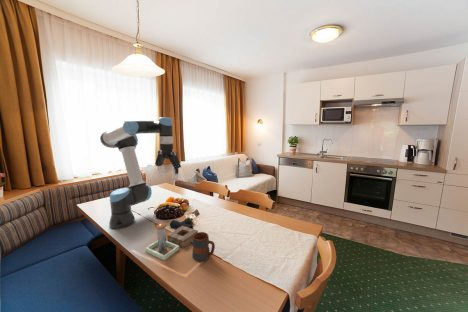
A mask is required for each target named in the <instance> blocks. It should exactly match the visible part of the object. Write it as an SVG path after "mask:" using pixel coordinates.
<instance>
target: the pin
mask: <svg viewBox="0 0 468 312" xmlns="http://www.w3.org/2000/svg"><path fill="white" fill-rule="evenodd" d="M166 226H167V222H164V221H161V222H158V223H156V224H155V228H156V232H157V233H156V234H157V241H158V245H157V248H158V251H157V252H158V253H160V254H163V253H165V252H166V251H167V245H166V241H167V235H166V233H167V232H166Z"/></svg>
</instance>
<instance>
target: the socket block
mask: <svg viewBox="0 0 468 312" xmlns="http://www.w3.org/2000/svg"><path fill="white" fill-rule="evenodd" d="M198 232H199V230H198V229H197V230H196V229H194V228H193V229H191V228H188V227H185V226H181V227H179V228H178V229H174V230H173V231H172V232H170V233H168V234H167V235H166V240H167V241H168V242H171V243H173V244H176V245H178V246H179V248H185V247H187V246H188V245H189V244H191V243H193V235H194V234H196V233H198Z"/></svg>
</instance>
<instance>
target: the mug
mask: <svg viewBox="0 0 468 312" xmlns="http://www.w3.org/2000/svg"><path fill="white" fill-rule="evenodd" d="M209 238H210V237H209V234H208V233H207V232H205V231H198V233H196V234H194V235H193V241H192V259H193V260H194V261H196V262H197V263H204V262H206V261H208V259H209V258H210V257H211V256H213V255H214V252H215V250H216V245H215V242H214V241H213V240H210V239H209ZM209 244H210V245H211V249H210V245H209Z"/></svg>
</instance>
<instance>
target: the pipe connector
mask: <svg viewBox="0 0 468 312" xmlns="http://www.w3.org/2000/svg"><path fill="white" fill-rule="evenodd" d="M193 220H194V218H193V217H190V216H189V217H188V216H187V217H186V218H185V219H184V220H182V221H179V220H175V219H172V220H171V221H170V223H169V227H170V228H172V229H174V230H176V229H178V228H179V227H181V226H185V227H188V228H191V229H194V226H193V224H194V222H193Z"/></svg>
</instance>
